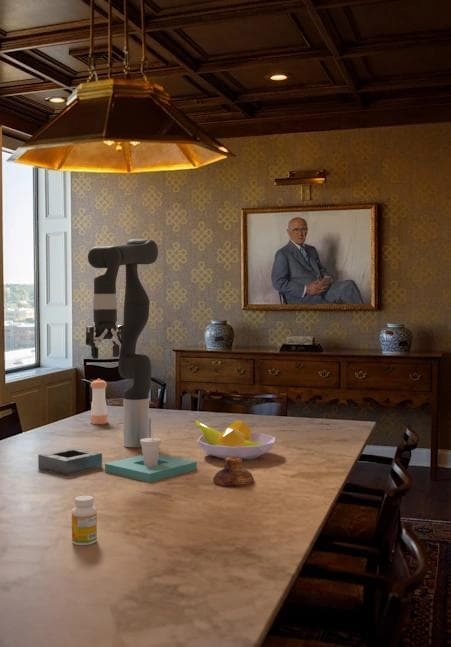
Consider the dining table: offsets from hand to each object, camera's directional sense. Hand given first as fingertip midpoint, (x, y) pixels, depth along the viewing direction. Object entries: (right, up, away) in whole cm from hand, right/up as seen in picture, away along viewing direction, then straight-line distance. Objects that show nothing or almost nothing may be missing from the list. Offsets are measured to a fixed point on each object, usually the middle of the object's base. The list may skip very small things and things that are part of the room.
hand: (105, 357), depth 231 cm
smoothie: (+16, -35, -11) cm, 40 cm away
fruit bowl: (+42, -34, +10) cm, 55 cm away
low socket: (+16, -34, -11) cm, 40 cm away
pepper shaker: (-16, -32, +75) cm, 83 cm away
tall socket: (-10, -34, -7) cm, 37 cm away
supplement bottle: (+8, -37, -75) cm, 84 cm away
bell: (+41, -35, -25) cm, 60 cm away
